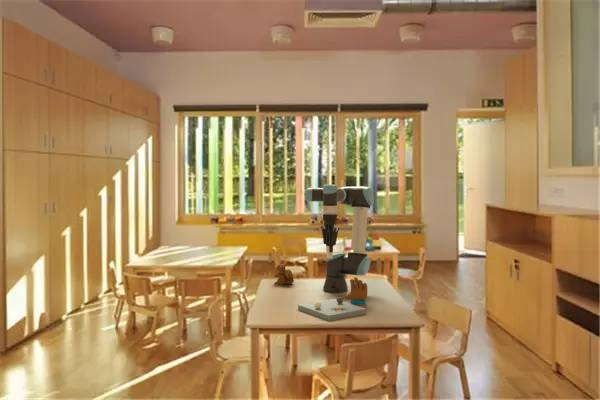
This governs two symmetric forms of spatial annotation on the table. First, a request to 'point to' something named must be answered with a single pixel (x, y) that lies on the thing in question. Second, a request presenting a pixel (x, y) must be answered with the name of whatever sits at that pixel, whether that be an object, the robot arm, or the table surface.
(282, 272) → the stuffed squirrel
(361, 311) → the grey flat plate
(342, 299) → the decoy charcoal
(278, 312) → the table surface
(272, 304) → the table surface
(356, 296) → the toy
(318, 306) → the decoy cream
